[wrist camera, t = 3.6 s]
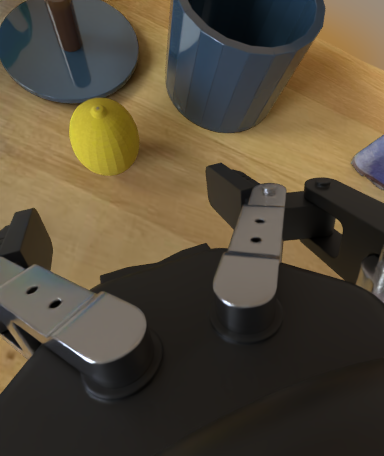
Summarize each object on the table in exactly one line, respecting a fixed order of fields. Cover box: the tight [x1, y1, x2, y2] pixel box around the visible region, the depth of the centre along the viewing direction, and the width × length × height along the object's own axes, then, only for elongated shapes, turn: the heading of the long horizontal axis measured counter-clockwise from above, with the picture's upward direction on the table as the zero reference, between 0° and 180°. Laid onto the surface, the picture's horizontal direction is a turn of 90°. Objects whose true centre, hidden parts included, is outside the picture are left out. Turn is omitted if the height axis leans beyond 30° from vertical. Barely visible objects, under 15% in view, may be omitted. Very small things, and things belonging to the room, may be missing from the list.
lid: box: [0, 0, 139, 103], centre depth 27 cm, size 14×14×6 cm
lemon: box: [69, 98, 139, 176], centre depth 24 cm, size 6×6×8 cm
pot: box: [165, 0, 325, 133], centre depth 27 cm, size 13×13×10 cm
